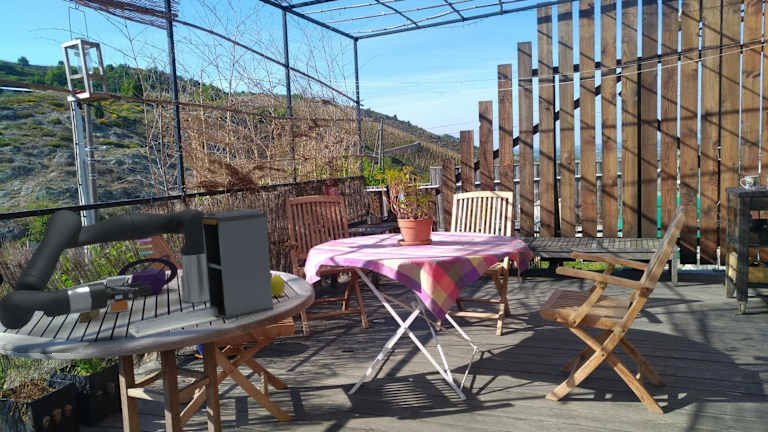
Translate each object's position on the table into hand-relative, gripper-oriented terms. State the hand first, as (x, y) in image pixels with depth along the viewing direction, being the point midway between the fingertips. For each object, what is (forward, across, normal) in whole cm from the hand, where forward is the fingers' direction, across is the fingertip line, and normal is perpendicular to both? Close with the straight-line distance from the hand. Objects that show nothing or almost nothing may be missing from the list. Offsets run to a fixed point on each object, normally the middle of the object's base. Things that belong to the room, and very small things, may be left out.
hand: (147, 287), depth 161 cm
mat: (+6, 0, -13) cm, 15 cm away
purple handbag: (+15, -56, -13) cm, 59 cm away
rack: (+29, 0, -13) cm, 31 cm away
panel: (+8, 0, -10) cm, 13 cm away
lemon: (+46, -8, -13) cm, 48 cm away
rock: (-11, -33, -13) cm, 37 cm away
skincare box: (-1, -35, -13) cm, 37 cm away
